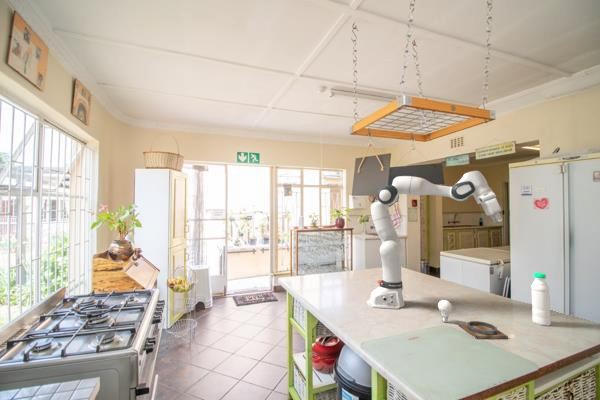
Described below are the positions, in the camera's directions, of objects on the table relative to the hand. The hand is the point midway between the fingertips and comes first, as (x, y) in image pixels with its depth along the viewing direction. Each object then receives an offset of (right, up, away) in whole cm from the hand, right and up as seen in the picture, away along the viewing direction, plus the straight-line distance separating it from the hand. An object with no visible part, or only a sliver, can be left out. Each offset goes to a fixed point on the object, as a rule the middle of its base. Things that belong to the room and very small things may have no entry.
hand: (498, 221), depth 146 cm
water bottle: (+17, -51, -6) cm, 54 cm away
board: (-19, -50, -16) cm, 56 cm away
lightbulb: (-30, -51, -4) cm, 59 cm away
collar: (-19, -49, -16) cm, 55 cm away
